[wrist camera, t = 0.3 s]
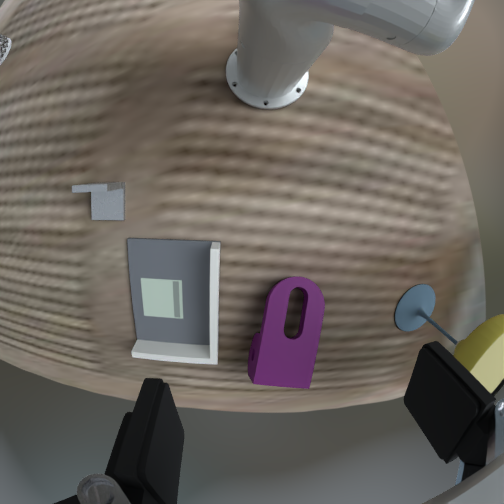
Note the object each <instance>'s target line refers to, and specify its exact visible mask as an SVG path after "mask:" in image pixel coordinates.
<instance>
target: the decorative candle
mask: <svg viewBox="0 0 504 504" xmlns="http://www.w3.org/2000/svg"><path fill="white" fill-rule="evenodd" d="M1 35H2V34H0V65H1V64H2V63H3V61H4V60H5V58H6V57H7V55H8V53H9V51H10V48H11V42H12V41H11V39H10V38H7V37H5V36H4V35H2V36H1Z"/></svg>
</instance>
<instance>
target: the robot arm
mask: <svg viewBox="0 0 504 504" xmlns="http://www.w3.org/2000/svg"><path fill="white" fill-rule="evenodd" d="M474 1H475V0H239V27H238V44H237V48H236V49H235V50H234V51H233V52H232V54H231V55H230V57H229V59H228V61H227V65H226V79H227V82H228V85H229V87H230V89H231V90H232V92H233V93H234V94H235V95H236V96H237V97H238V98H239V99H240V100H241V101H243V102H244V103H246V104H248V105H250V106H253V107H256V108H260V109H278V108H283V107H285V106H288V105H290V104H292V103H293V102H295V101H296V100H297V99H298V98H299V97H300V96H301V95H302V94H303V92H304V91H305V89H306V87H307V83H308V78H309V72H308V70H309V68H310V67H311V66H312V65H313V63H314V62H315V61H316V60H317V58H318V57H319V56H320V55H321V53H322V52H323V51H324V50H325V48H326V47H327V46H328V44H329V43H330V41H331V39H332V35H333V31H334V25H336V26H339V27H342V28H348V29H351V30H354V31H357V32H360V33H362V34H365V35H368V36H371V37H373V38H376V39H378V40H381V41H383V42H386V43H388V44H391V45H394V46H396V47H398V48H401V49H403V50H406V51H408V52H411V53H414V54H418V55H426V56H428V55H435V54H437V53H440V52H442V51H444V50H445V49H447V48H448V47H449V46H450V45H451V44H452V43H453V42H454V41H455V39H456V38H457V37H458V35H459V34H460V32H461V30H462V29H463V27H464V25H465V23H466V20H467V18H468V15H469V13H470V11H471V8H472V6H473V3H474ZM236 55H237V56H236ZM233 85H236V87H234V86H233ZM296 91H299V93H297V92H296ZM264 103H266V104H267V105H266V106H265V105H264ZM495 400H496V398H494V396H493V395H492V394H491V393H490V392H489V391H488V390H487V389H486V388H485V387H484V386H483V385H482V384H481V383H480V382H479V381H478V380H477V379H476V378H475V377H474V376H473V375H472V374H471V373H470V372H469V371H468V370H467V369H466V368H465V367H464V366H463V365H462V364H461V363H460V362H459V361H458V360H457V359H456V358H455V357H454V356H453V355H452V354H451V353H450V352H449V351H448V350H446V349H445V348H444V347H443V346H442V345H441V344H440V343H439V342H437V341H434V342H431V343H428V344H425V345H423V347H422V349H421V350H420V351H419V354H418V357H417V361H416V364H415V367H414V370H413V373H412V376H411V379H410V382H409V385H408V388H407V390H406V393H405V396H404V404H405V405H406V407H407V408H408V410H409V411H410V413H411V414H412V416H413V417H414V419H415V420H416V422H417V423H418V425H419V427H420V428H421V429H422V431H423V433H424V434H425V436H426V437H427V439H428V440H429V442H430V443H431V445H432V447H433V448H434V450H435V451H436V453H437V454H438V456H439V457H440V458H441V459H444V461H445V462H446V464H447V463H449V462H451V461H453V460H454V459H456V458H457V457H458V456H459V458H460V465H459V470H458V474H457V479H456V484H455V486H454V487H452V488H451V489H449V490H447V491H445V492H443V493H442V494H440V495H438V496H436V497H434V498H432V499H430V500H428V501H427V502H425V503H423V504H504V399H502V400H500V401H499V402H498V403H497V405H496V406H495V405H494V402H495ZM183 444H184V429H183V427H182V424H181V421H180V418H179V415H178V412H177V409H176V406H175V403H174V400H173V397H172V394H171V391H170V388H169V385H168V383H164V382H163V380H162V379H156V378H146V379H145V380H144V382H143V385H142V387H141V390H140V393H139V396H138V399H137V401H136V405H135V407H134V410H133V412H127V413H126V414H125V416H124V418H123V421H122V424H121V426H120V429H119V432H118V435H117V438H116V441H115V444H114V447H113V450H112V453H111V456H110V459H109V462H108V465H107V468H106V471H105V475H104V474H91V475H88V476H86V477H85V478H83V479H82V480H81V481H80V482H79V484H78V486H77V495H74V496H72V497H69V498H67V499H65V500H62V501H59V502H57V503H54V504H177V496H178V486H179V477H180V468H181V460H182V452H183Z"/></svg>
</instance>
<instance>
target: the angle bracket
mask: <svg viewBox="0 0 504 504" xmlns="http://www.w3.org/2000/svg"><path fill="white" fill-rule="evenodd" d="M76 192H91V211H92V220H125V182H102V183H88V184H81V185H73V186H72V193H76Z"/></svg>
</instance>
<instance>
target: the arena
mask: <svg viewBox="0 0 504 504" xmlns="http://www.w3.org/2000/svg"><path fill="white" fill-rule="evenodd" d="M127 241H128V259H129V273H130V284H131V294H132V303H133V312H134V319H135V327H136V334H137V341H136V343H135V345H134V347H133V349H132V351H131V353H132V357H136V358H143V359H152V360H161V361H172V362H184V363H198V364H217V362H218V317H219V269H220V241H199V240H173V239H146V238H128V239H127Z"/></svg>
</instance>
